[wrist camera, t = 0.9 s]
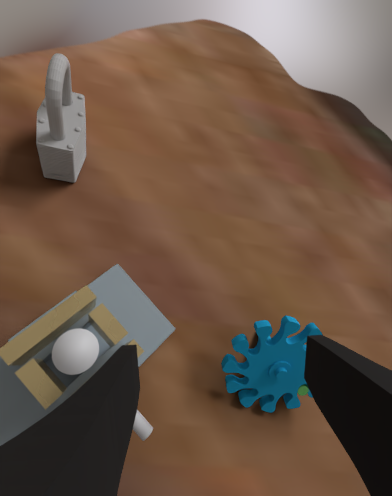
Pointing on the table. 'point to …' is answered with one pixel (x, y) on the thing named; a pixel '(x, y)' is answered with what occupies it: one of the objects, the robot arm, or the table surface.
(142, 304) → the vise
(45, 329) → the sleeve
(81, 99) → the padlock
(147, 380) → the table surface
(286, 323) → the gear
